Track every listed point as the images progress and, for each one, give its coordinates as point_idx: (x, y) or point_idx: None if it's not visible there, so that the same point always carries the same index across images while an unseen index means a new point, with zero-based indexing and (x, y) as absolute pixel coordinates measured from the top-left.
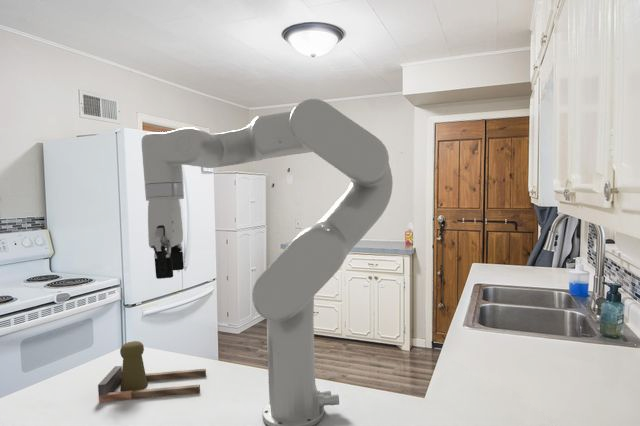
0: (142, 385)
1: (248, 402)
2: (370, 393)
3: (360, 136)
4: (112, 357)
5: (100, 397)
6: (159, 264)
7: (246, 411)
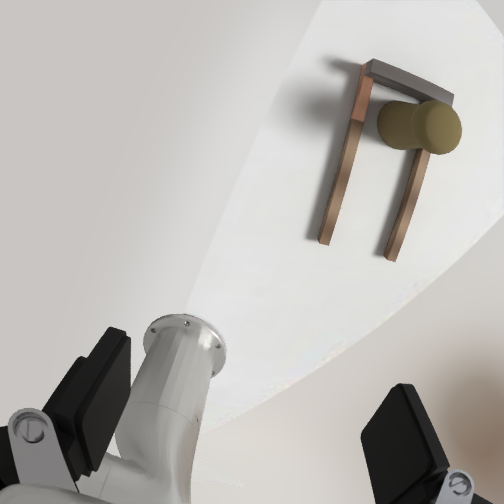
0: (387, 140)
1: (244, 307)
2: (208, 422)
3: None
4: None
5: (364, 66)
6: (56, 397)
7: (216, 299)
